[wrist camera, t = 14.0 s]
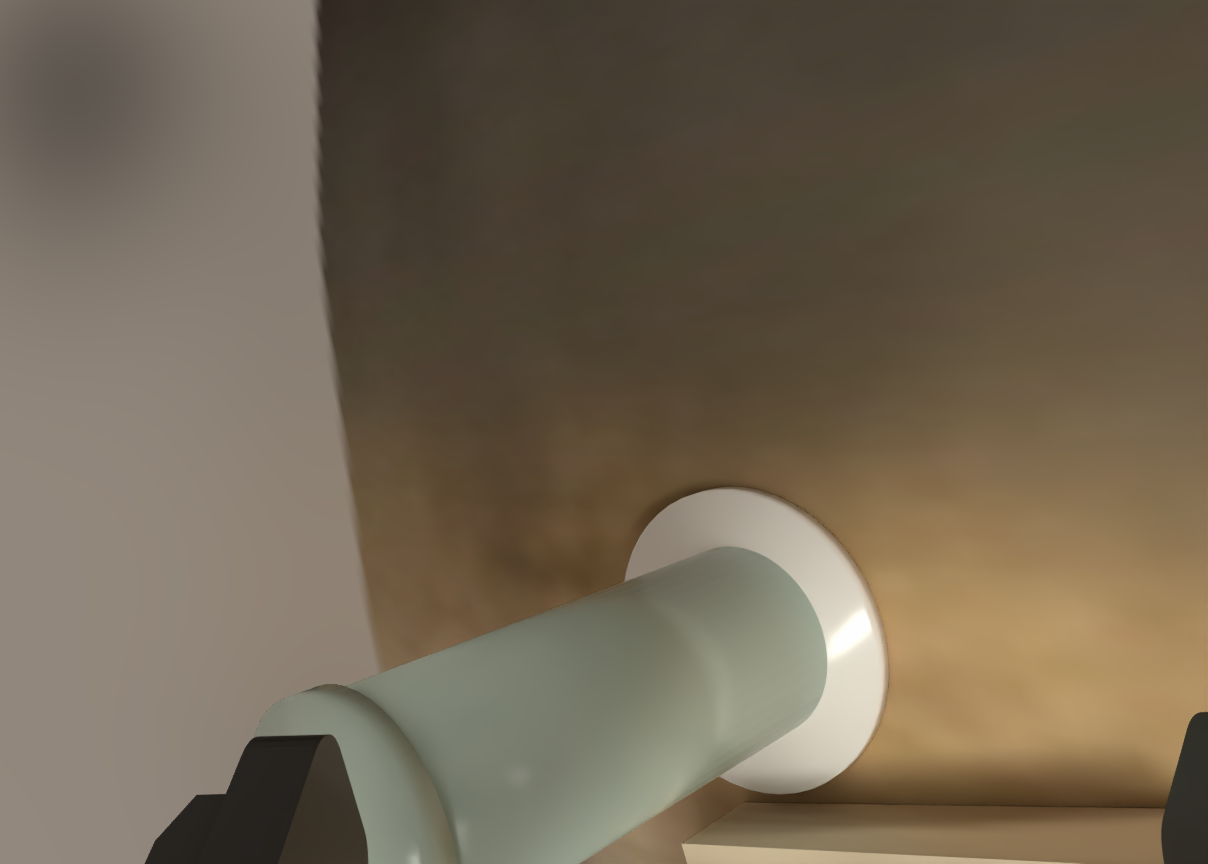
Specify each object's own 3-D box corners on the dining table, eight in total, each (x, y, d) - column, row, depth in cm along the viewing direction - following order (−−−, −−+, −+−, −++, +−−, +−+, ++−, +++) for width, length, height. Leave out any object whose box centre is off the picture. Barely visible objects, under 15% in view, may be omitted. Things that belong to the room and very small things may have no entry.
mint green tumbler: (602, 564, 35) (189, 709, 25) (798, 523, 30) (372, 687, 20) (653, 747, 35) (254, 968, 25) (859, 739, 30) (458, 1015, 20)
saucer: (604, 514, 36) (592, 518, 35) (836, 458, 30) (824, 461, 29) (678, 786, 35) (666, 793, 35) (928, 786, 29) (918, 795, 29)
